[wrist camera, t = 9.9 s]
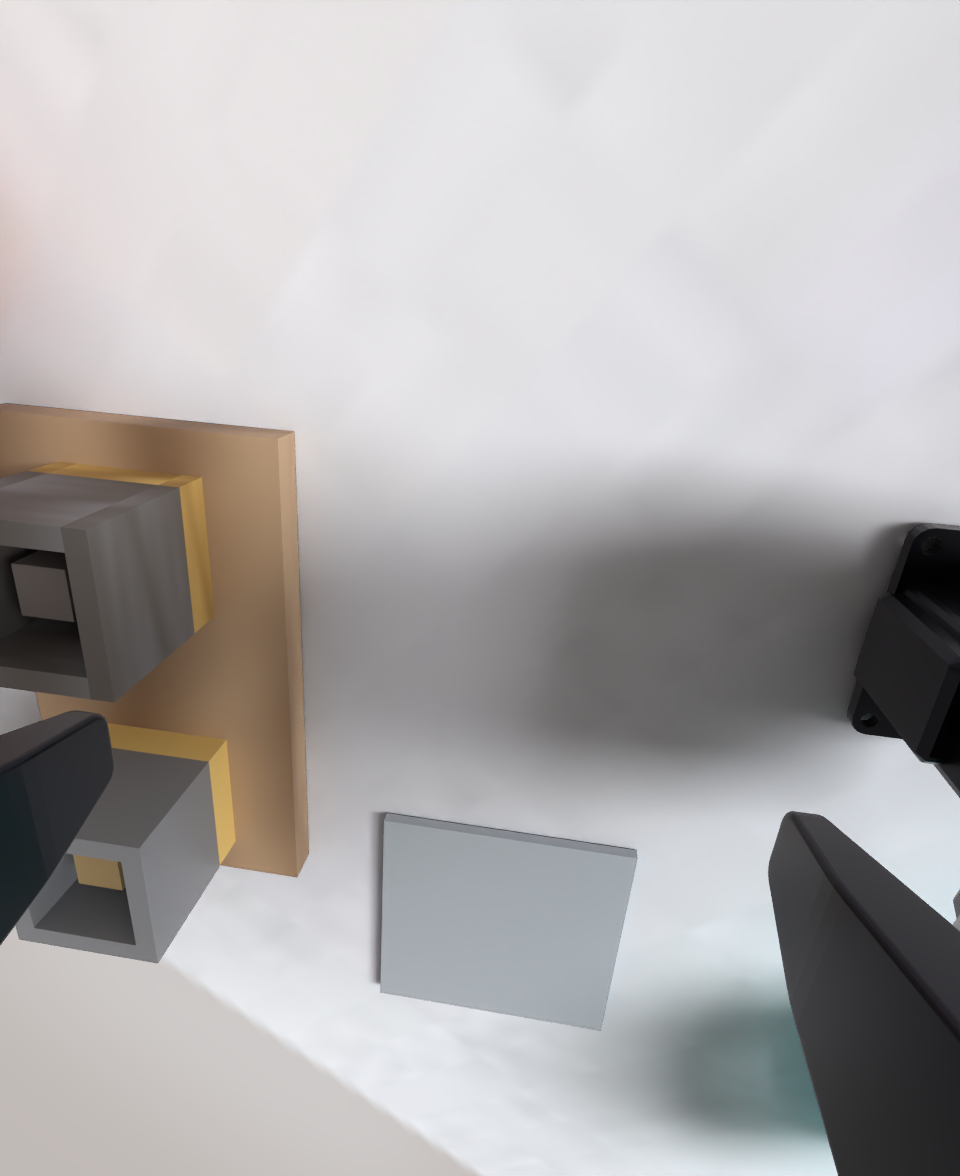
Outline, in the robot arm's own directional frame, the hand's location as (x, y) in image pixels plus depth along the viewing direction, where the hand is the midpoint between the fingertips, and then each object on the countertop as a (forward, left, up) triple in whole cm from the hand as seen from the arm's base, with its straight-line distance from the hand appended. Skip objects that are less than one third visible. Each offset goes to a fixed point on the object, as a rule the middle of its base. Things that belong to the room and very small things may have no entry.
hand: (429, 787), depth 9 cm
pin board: (+11, +6, -12) cm, 17 cm away
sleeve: (+11, +11, -11) cm, 19 cm away
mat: (-1, +16, -12) cm, 20 cm away
